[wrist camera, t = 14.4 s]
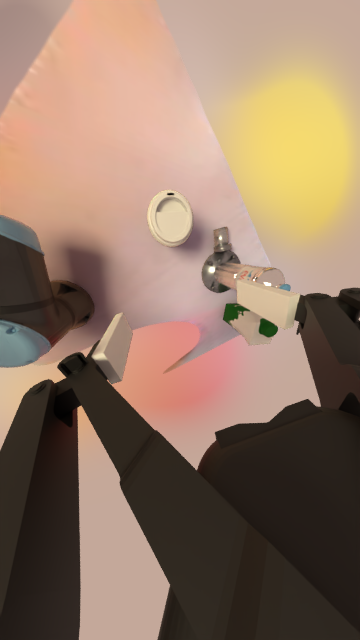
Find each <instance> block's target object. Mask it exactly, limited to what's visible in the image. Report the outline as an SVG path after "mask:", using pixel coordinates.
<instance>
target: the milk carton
mask: <svg viewBox="0 0 360 640" xmlns="http://www.w3.org/2000/svg"><path fill="white" fill-rule="evenodd" d="M223 320H224V321H226V322H227V323H228V324H230V325H231V326H232V327H233V328H234V329H235V330H237V331H238V332H239V333H240V334H241V335H242V336H243V337H244V338H245V339H246V341H247V342H248V344H249V345H259V344H269V343H270V342H271V340H272V337H273V336H274V335H275V334H276V333H277V331H278V327H277V325H276V324H274V323H272V322H270V321H268V320H267V319H265V318H263V317H261V316H260V315H258V314H256V313H254V312H253V311H251V310H249V309H247V308H245V307H244V306H242V305H240V304H238V303H236V304H226V307H225V312H224V317H223Z"/></svg>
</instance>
